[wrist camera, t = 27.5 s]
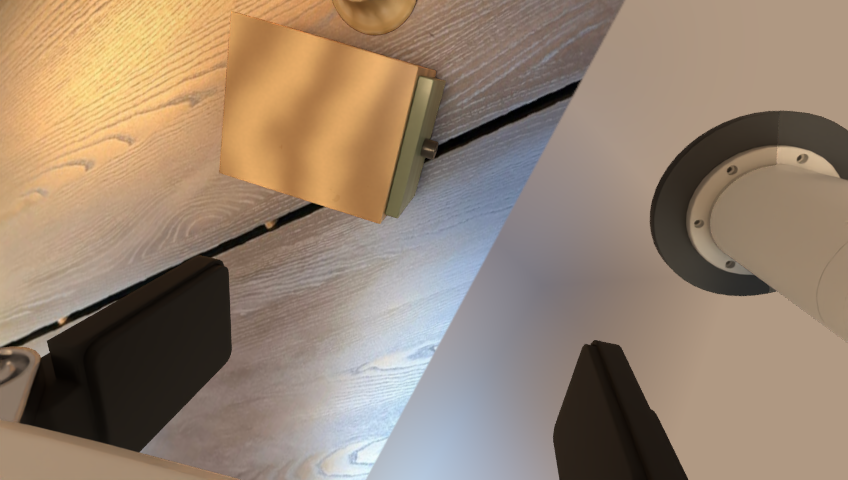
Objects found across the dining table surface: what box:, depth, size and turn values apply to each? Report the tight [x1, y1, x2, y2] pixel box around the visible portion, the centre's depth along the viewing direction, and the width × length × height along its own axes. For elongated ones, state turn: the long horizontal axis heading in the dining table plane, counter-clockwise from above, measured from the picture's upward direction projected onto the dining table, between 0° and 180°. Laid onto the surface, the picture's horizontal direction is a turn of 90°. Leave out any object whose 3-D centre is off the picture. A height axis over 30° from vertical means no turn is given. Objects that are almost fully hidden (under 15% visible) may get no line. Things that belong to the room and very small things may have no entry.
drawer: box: [385, 76, 446, 218], centre depth 36 cm, size 15×11×8 cm
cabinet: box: [219, 11, 436, 224], centre depth 37 cm, size 15×13×10 cm
